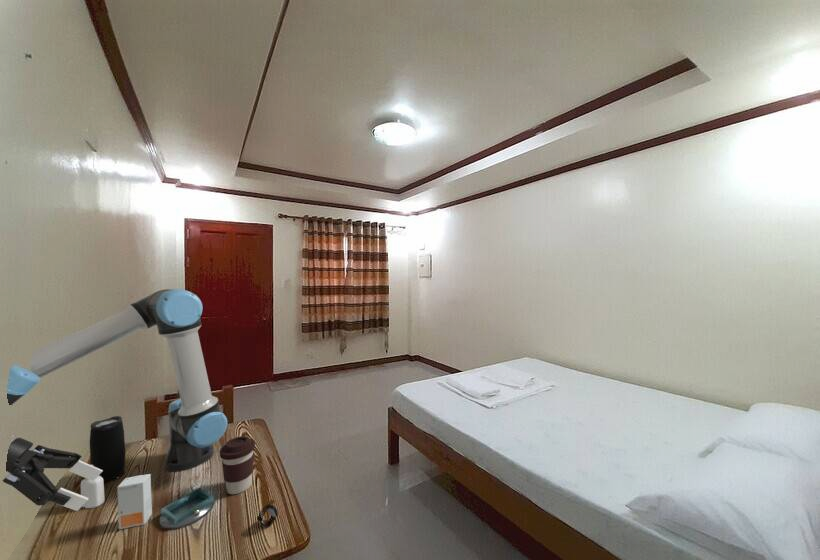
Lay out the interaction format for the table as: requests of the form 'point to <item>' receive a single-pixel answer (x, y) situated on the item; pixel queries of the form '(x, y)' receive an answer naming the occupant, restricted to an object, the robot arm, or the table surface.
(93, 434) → the portable speaker
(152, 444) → the table surface
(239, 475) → the coffee cup
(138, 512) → the skincare box
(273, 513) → the smartwatch
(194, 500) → the keyed nest
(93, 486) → the eye dropper bottle
